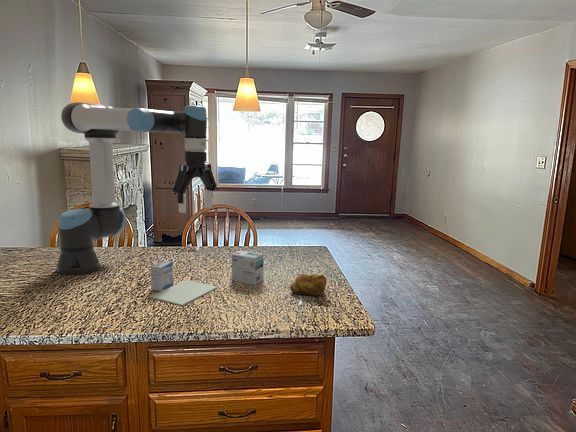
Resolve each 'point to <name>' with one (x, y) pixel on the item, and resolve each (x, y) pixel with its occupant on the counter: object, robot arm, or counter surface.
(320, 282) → the bread roll
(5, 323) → the counter surface
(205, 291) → the cutting board
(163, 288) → the medicine box
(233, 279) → the light bulb box
